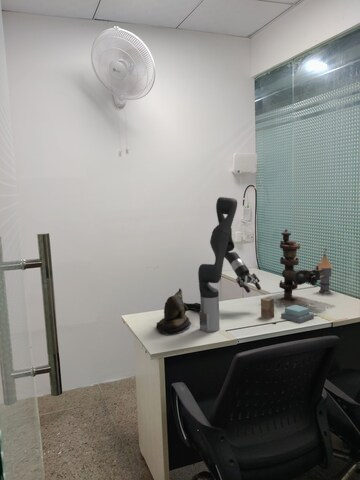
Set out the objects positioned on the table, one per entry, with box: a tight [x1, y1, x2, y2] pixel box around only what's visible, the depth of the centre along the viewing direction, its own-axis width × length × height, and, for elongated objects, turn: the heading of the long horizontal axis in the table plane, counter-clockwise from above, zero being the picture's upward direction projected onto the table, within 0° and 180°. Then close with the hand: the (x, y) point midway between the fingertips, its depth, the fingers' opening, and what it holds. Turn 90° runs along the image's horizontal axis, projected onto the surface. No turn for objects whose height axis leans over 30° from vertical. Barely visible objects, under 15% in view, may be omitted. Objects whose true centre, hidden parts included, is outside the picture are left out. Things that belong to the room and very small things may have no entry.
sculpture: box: [155, 288, 193, 336], centre depth 196 cm, size 23×18×20 cm
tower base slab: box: [280, 311, 315, 324], centre depth 206 cm, size 12×12×3 cm
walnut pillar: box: [260, 296, 275, 319], centre depth 209 cm, size 5×5×10 cm
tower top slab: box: [284, 305, 310, 317], centre depth 206 cm, size 9×9×3 cm
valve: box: [260, 228, 337, 314], centre depth 233 cm, size 42×20×45 cm, turn 35°
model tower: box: [314, 248, 334, 295], centre depth 253 cm, size 10×11×30 cm
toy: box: [183, 301, 201, 313], centre depth 228 cm, size 8×6×30 cm
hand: (254, 290), depth 216 cm, fingers open, 8 cm apart
